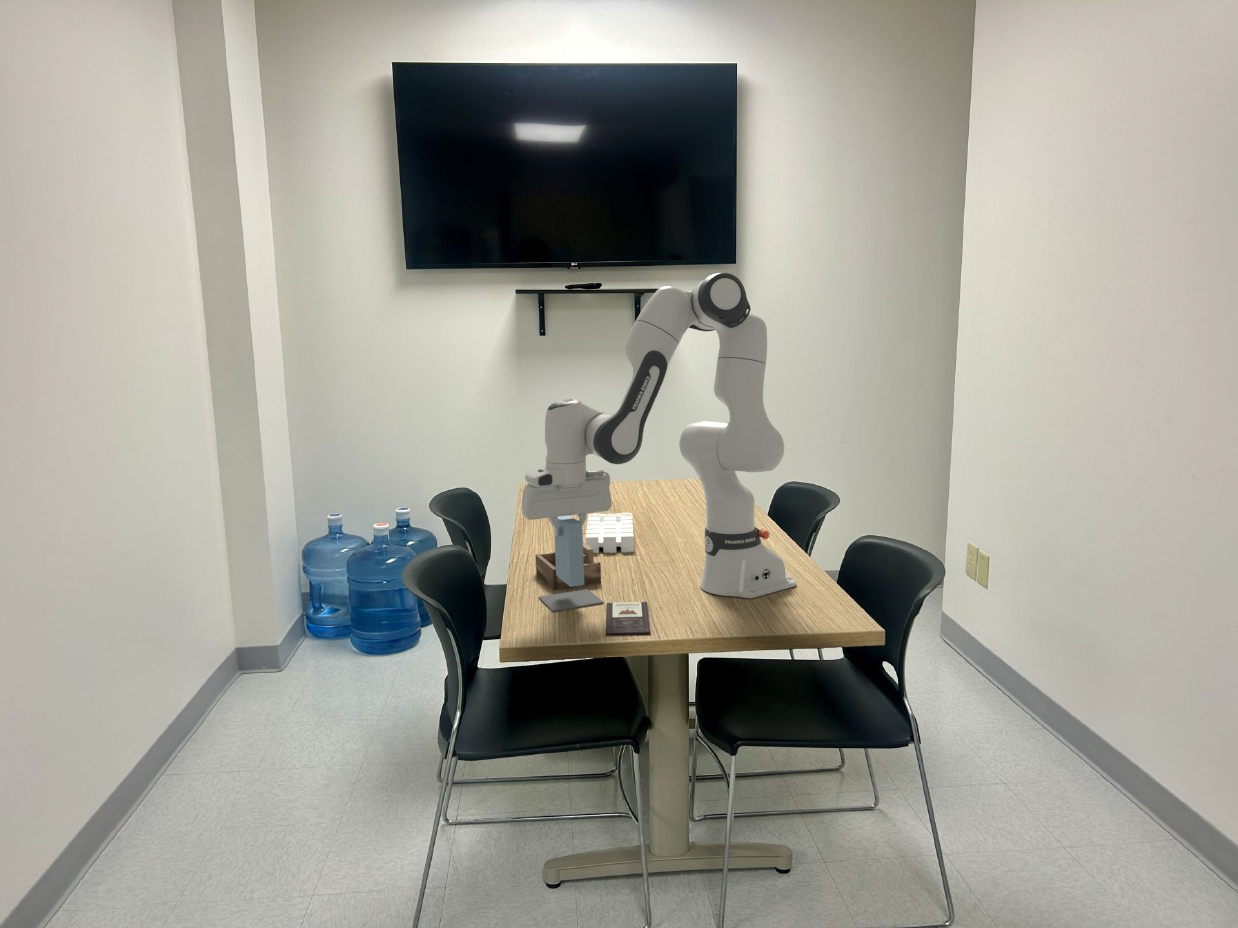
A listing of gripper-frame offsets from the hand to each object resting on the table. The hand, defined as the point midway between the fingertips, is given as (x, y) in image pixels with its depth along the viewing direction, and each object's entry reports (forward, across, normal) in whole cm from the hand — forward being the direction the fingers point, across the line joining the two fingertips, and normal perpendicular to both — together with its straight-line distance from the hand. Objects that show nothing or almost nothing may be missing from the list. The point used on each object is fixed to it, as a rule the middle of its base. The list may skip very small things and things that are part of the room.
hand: (568, 534), depth 184 cm
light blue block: (+11, 0, 0) cm, 11 cm away
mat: (+16, 0, 0) cm, 16 cm away
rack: (+15, -5, -16) cm, 23 cm away
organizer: (+16, -30, -48) cm, 59 cm away
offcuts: (+14, -8, -16) cm, 23 cm away
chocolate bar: (+16, -7, +16) cm, 24 cm away
